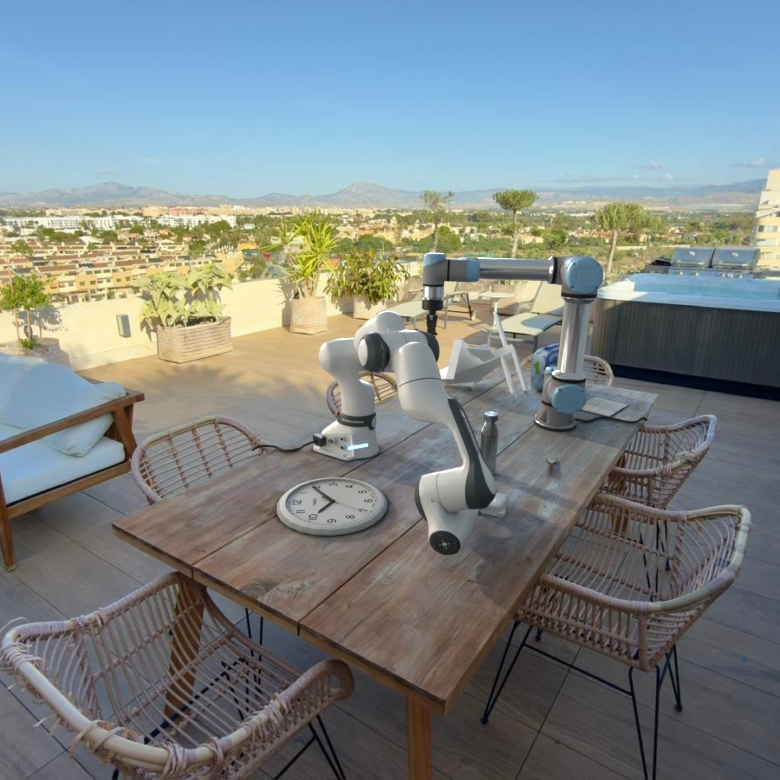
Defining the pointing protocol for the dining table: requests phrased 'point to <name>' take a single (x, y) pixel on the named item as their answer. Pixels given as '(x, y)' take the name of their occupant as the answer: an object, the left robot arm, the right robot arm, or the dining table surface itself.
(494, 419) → the cap
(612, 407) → the invitation card
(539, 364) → the lunch box
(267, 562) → the dining table surface
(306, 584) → the dining table surface
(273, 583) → the dining table surface
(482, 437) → the bottle
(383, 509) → the wall clock
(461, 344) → the white plastic object
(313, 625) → the dining table surface
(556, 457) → the fork
